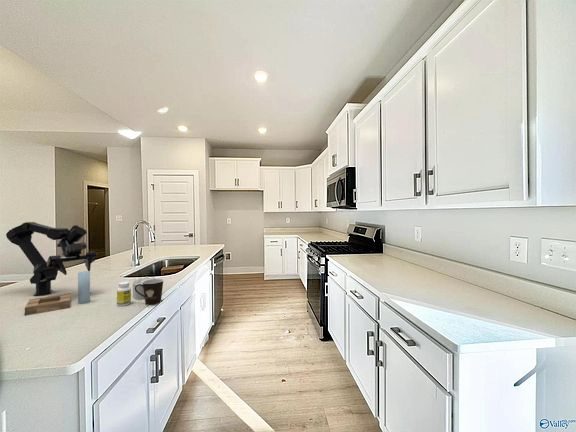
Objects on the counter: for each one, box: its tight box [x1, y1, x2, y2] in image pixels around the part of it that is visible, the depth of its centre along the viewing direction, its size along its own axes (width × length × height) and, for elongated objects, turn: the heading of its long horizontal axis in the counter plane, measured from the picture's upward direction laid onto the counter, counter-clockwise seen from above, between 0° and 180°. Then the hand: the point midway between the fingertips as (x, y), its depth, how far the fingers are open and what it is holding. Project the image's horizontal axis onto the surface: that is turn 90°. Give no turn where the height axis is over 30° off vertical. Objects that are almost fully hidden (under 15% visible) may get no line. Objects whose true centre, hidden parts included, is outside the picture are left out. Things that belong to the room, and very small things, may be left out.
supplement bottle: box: [116, 281, 132, 307], centre depth 117 cm, size 5×5×10 cm
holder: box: [24, 293, 71, 316], centre depth 114 cm, size 14×14×3 cm
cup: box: [132, 276, 156, 301], centre depth 131 cm, size 10×13×9 cm
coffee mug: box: [135, 278, 164, 306], centre depth 120 cm, size 12×9×10 cm
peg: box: [77, 270, 91, 305], centre depth 120 cm, size 4×4×14 cm
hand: (78, 272), depth 124 cm, fingers open, 9 cm apart
